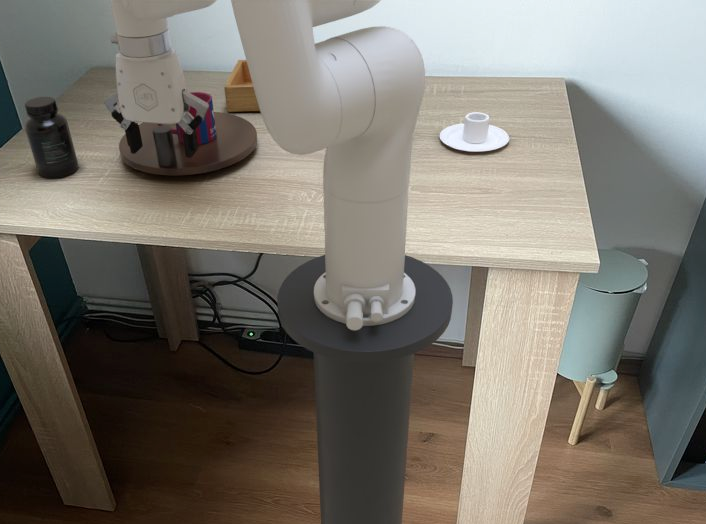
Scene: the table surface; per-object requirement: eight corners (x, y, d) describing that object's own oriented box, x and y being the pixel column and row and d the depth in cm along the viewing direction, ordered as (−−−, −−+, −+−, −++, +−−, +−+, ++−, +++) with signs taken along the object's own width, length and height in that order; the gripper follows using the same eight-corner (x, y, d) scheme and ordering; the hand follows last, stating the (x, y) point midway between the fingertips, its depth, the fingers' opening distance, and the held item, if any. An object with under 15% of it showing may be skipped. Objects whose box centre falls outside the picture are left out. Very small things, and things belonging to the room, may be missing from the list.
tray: (227, 113, 142) (223, 84, 138) (240, 85, 153) (238, 57, 150) (384, 114, 139) (385, 84, 135) (386, 85, 150) (387, 57, 146)
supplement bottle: (39, 164, 127) (18, 97, 120) (78, 159, 129) (61, 91, 121) (37, 181, 122) (16, 112, 115) (79, 175, 123) (61, 106, 116)
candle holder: (461, 160, 122) (464, 136, 119) (427, 134, 131) (428, 110, 128) (522, 147, 125) (526, 122, 122) (484, 122, 134) (487, 99, 131)
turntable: (106, 177, 119) (97, 137, 114) (134, 119, 137) (127, 82, 133) (252, 173, 118) (248, 131, 114) (261, 115, 136) (258, 77, 132)
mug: (213, 145, 124) (208, 106, 120) (156, 146, 125) (149, 107, 120) (219, 129, 129) (214, 91, 125) (164, 130, 130) (157, 92, 125)
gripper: (80, 49, 106) (105, 158, 117) (189, 53, 103) (205, 166, 114) (103, 33, 112) (125, 139, 123) (208, 37, 108) (222, 146, 119)
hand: (164, 152), depth 118 cm, fingers open, 9 cm apart
